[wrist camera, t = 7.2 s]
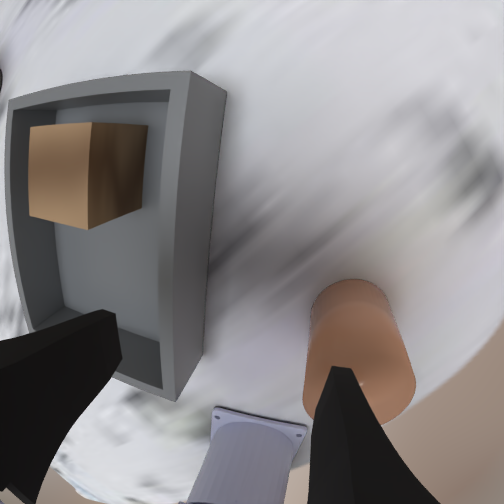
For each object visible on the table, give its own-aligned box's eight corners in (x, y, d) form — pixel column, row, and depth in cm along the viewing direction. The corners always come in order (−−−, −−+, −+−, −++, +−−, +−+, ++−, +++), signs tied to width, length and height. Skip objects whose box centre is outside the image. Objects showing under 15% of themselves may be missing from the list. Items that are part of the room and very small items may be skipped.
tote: (202, 355, 21) (175, 402, 16) (66, 307, 23) (29, 333, 18) (226, 91, 15) (191, 71, 10) (58, 101, 17) (9, 100, 12)
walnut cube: (141, 208, 17) (88, 230, 13) (83, 198, 18) (29, 215, 13) (148, 125, 15) (92, 122, 11) (87, 125, 16) (30, 126, 12)
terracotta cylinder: (374, 353, 18) (387, 434, 12) (302, 340, 19) (291, 423, 12) (400, 287, 16) (435, 360, 10) (321, 271, 17) (320, 343, 11)
